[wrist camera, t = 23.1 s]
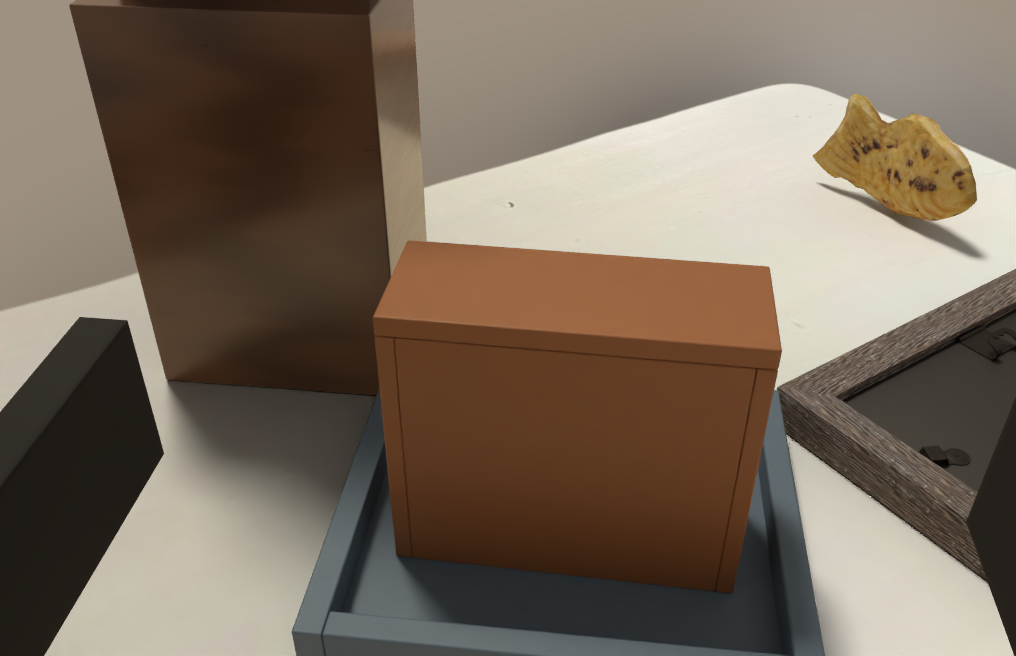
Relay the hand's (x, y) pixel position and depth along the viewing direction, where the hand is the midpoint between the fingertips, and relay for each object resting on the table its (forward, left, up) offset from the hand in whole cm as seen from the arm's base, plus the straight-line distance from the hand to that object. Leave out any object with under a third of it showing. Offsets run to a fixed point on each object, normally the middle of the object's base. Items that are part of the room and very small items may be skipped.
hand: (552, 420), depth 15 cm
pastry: (+14, +33, -13) cm, 38 cm away
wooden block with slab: (-11, +19, -13) cm, 25 cm away
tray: (0, +10, -13) cm, 16 cm away
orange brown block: (0, +10, -12) cm, 16 cm away
